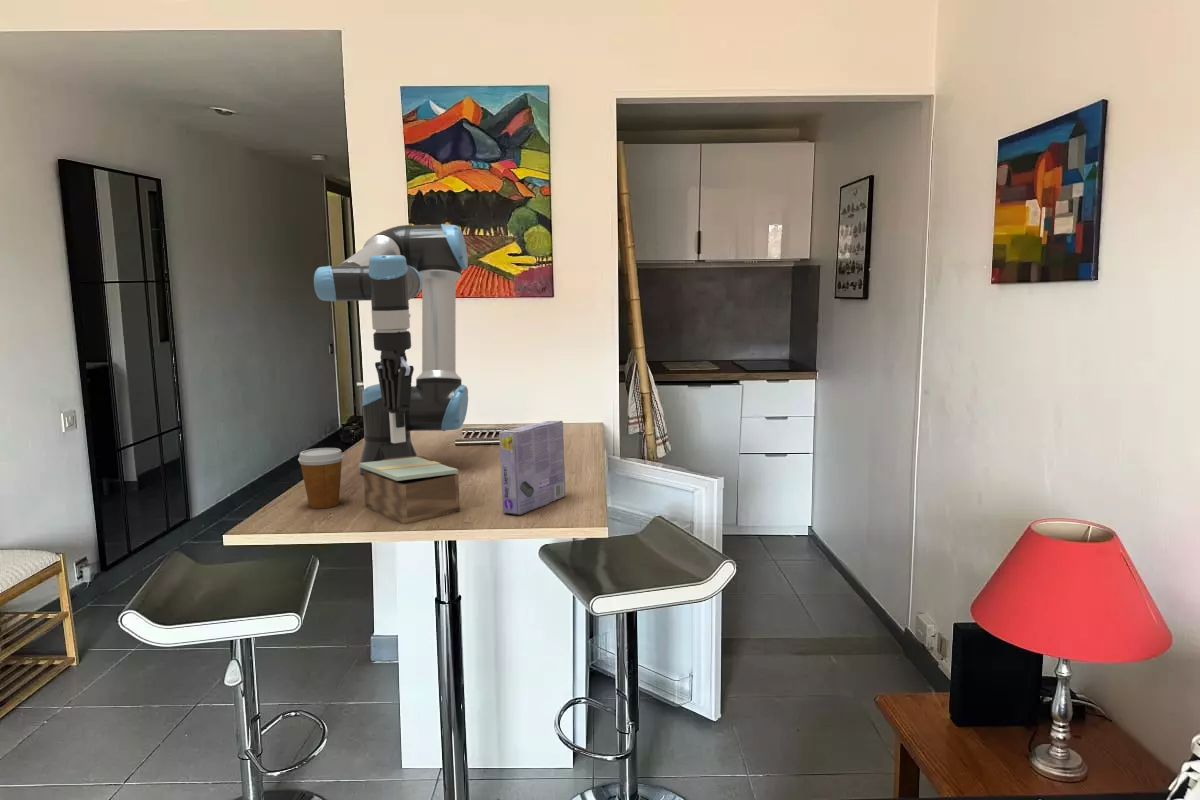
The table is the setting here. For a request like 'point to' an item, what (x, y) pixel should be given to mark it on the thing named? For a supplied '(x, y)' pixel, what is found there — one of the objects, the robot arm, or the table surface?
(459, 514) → the table surface
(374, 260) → the robot arm
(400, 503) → the walnut box
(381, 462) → the lid
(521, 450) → the cake pan box
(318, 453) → the disposable coffee cup
